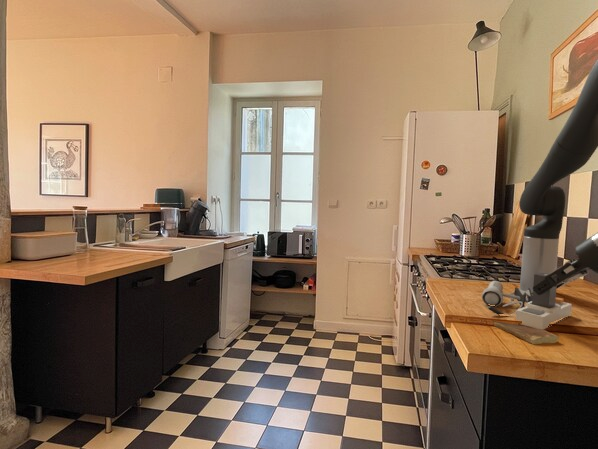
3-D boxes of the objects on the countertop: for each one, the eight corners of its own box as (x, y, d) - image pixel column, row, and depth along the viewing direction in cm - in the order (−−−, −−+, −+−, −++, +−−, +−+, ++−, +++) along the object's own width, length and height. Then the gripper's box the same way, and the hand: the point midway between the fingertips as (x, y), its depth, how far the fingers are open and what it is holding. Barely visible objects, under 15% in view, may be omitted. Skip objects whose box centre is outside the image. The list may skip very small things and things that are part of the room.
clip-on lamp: (528, 334, 86) (532, 301, 100) (532, 310, 84) (536, 280, 98) (474, 319, 92) (485, 290, 106) (477, 297, 90) (488, 270, 104)
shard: (492, 327, 82) (492, 319, 82) (520, 325, 84) (521, 318, 84) (530, 346, 72) (531, 337, 72) (563, 344, 73) (563, 335, 73)
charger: (538, 304, 89) (540, 272, 89) (554, 308, 86) (557, 275, 86) (531, 307, 87) (534, 274, 86) (548, 311, 84) (551, 276, 83)
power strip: (549, 307, 97) (550, 293, 97) (574, 313, 92) (576, 298, 92) (515, 322, 84) (516, 305, 84) (542, 330, 80) (543, 312, 79)
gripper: (603, 233, 83) (542, 273, 93) (583, 236, 74) (518, 279, 84) (632, 259, 79) (565, 298, 89) (614, 266, 70) (542, 307, 80)
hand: (542, 289), depth 87 cm, fingers open, 8 cm apart
